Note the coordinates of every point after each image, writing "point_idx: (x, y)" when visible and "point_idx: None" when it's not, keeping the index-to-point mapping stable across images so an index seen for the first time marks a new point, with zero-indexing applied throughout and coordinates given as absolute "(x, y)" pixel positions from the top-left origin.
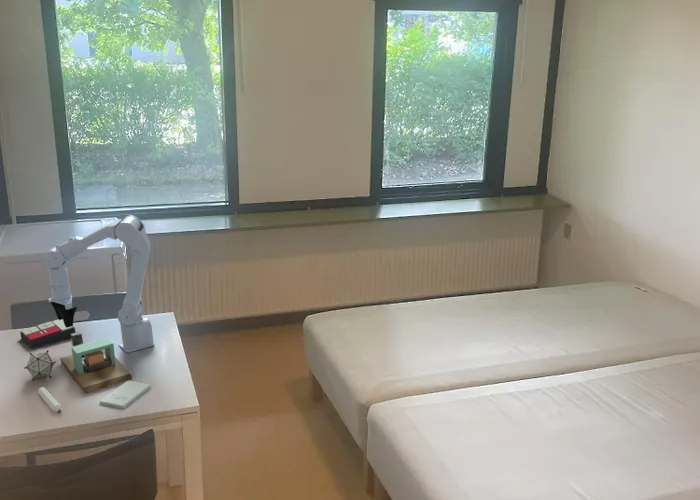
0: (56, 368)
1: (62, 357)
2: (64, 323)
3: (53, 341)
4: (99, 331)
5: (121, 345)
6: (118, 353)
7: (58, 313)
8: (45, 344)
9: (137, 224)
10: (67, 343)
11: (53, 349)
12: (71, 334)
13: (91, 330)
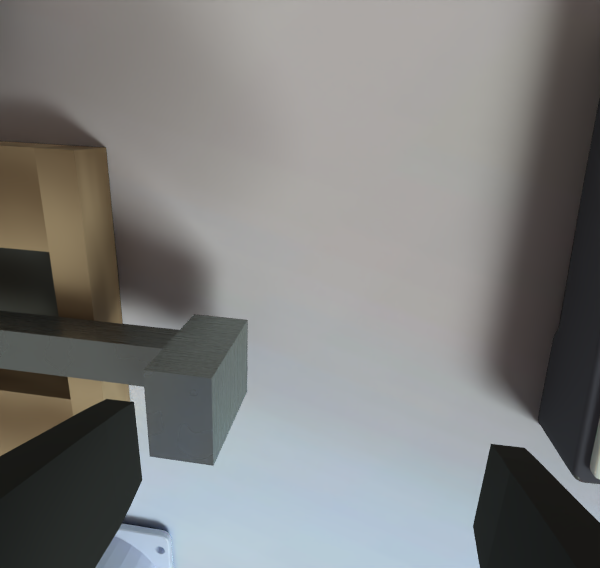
0: (42, 86)
1: (75, 169)
2: (51, 432)
3: (577, 248)
4: (477, 554)
5: (131, 536)
6: None
7: (540, 564)
8: (588, 169)
9: None
10: (455, 324)
11: (426, 193)
12: (193, 381)
13: None
